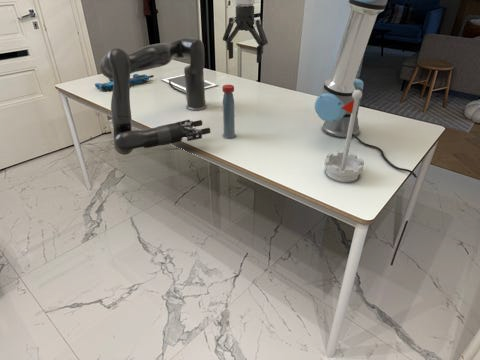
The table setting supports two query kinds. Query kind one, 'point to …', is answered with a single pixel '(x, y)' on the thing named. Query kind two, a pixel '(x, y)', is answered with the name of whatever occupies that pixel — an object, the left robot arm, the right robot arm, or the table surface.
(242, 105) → the table surface
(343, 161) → the flag stand
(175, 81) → the tablet
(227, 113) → the bottle
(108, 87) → the submachine gun
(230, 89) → the cap
